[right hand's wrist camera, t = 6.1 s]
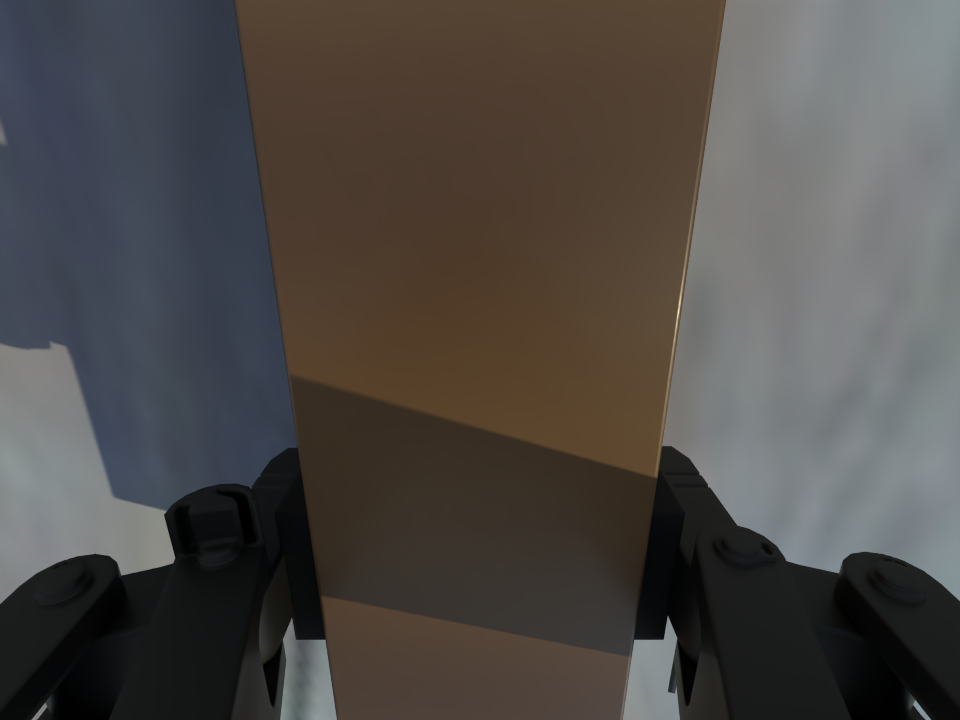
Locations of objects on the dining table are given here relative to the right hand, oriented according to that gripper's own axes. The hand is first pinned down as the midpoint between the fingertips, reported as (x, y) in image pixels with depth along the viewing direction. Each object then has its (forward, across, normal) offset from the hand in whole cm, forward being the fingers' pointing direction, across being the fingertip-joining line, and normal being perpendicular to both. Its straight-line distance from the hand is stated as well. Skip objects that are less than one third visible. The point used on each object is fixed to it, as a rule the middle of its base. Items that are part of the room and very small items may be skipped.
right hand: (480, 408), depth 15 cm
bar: (+1, 0, -23) cm, 23 cm away
